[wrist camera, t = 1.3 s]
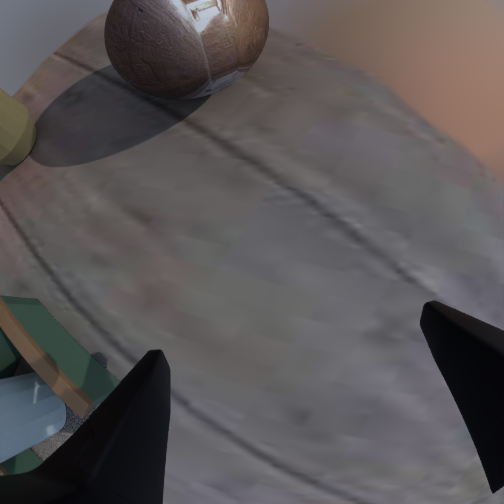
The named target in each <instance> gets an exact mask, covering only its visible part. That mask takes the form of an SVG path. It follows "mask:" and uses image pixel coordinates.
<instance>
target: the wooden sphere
mask: <svg viewBox="0 0 504 504" xmlns="http://www.w3.org/2000/svg"><path fill="white" fill-rule="evenodd" d="M268 29H269V15H268V9H267V5H266V2H265V0H114V1H113V3H112V5H111V7H110V9H109V12H108V15H107V18H106V23H105V31H104V38H105V46H106V51H107V54H108V57H109V59H110V61H111V63H112V65H113V66H114V68H115V70H116V71H117V72H118V73H119V75H120V76H121V77H122V78H123V79H124V80H125V81H127V82H128V83H129V84H130V85H132V86H133V87H135V88H136V89H138V90H140V91H142V92H144V93H147V94H149V95H152V96H156V97H160V98H165V99H178V100H181V99H193V98H198V97H203V96H207V95H210V94H213V93H215V92H218V91H220V90H222V89H224V88H226V87H228V86H229V85H231V84H233V83H234V82H235V81H237V80H238V79H239V78H241V77H242V76H243V75H244V74H245V73H246V72H247V71H248V70H249V69H250V68H251V67H252V66H253V64H254V63H255V62H256V60H257V59H258V57H259V55H260V54H261V52H262V50H263V47H264V45H265V42H266V39H267V35H268Z"/></svg>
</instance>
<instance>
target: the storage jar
mask: <svg viewBox="0 0 504 504" xmlns="http://www.w3.org/2000/svg"><path fill="white" fill-rule="evenodd" d="M65 423H66V407H65V404H64V402H63V401H62V400H61V399H60V398H59V397H58V396H57V395H56V394H55V393H54V392H53V390H52V389H51V388H50V387H49V386H48V385H47V384H46V383H45V382H44V381H43V380H42V379H41V377H40V376H39V375H38V374H37V373H36V372H33V373H28V374H23V375H19V376H14V377H10V378H5V379H0V463H1V462H3V461H5V460H7V459H9V458H11V457H13V456H15V455H17V454H19V453H21V452H23V451H24V450H26V449H28V448H30V447H32V446H34V445H36V444H37V443H39V442H41V441H43V440H45V439H47V438H48V437H50V436H52V435H54V434H56V433H57V432H58V431H60V430H61V429H62V428H63V427H64V425H65Z"/></svg>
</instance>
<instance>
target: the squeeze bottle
mask: <svg viewBox="0 0 504 504" xmlns="http://www.w3.org/2000/svg"><path fill="white" fill-rule="evenodd" d="M36 135H37V134H36V128H35V126H34V123H33V121H32V118H31V116H30V113H29V111H28V109H27V108H26V107H25V106H24V105H22V104H21V103H20V102H18V101H17V100H16V99H14V98H13V97H12V96H10V95H9V94H7V93H6V92H5V91H3V90H2V89H1V88H0V164H1V165H9V166H14V165H17V164H19V163H20V162H21V161H23V160H24V159H25V158H26V156H27V155H28V154H29V152H30V151H31V149H32V147H33V145H34V143H35V139H36Z"/></svg>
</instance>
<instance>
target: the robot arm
mask: <svg viewBox="0 0 504 504" xmlns="http://www.w3.org/2000/svg"><path fill="white" fill-rule="evenodd" d="M420 327H421V329H422V332H423V334H424V336H425V338H426V341H427V343H428V346H429V348H430V350H431V353H432V355H433V358H434V360H435V362H436V364H437V366H438V368H439V370H440V372H441V374H442V375H443V377H444V379H445V381H446V383H447V385H448V387H449V389H450V391H451V393H452V395H453V398H454V400H455V402H456V404H457V406H458V408H459V410H460V412H461V415H462V417H463V419H464V421H465V424H466V426H467V428H468V430H469V433H470V435H471V438H472V440H473V442H474V445H475V447H476V449H477V453H478V455H479V458H480V460H481V463H482V466H483V468H484V471H485V474H486V477H487V480H488V483H489V486H490V489H491V491H492V493H495V492H496V491H498V490H499V489H500V488H502V487H503V486H504V331H503V330H501V329H499V328H497V327H494V326H492V325H490V324H488V323H485V322H483V321H481V320H479V319H476V318H474V317H472V316H470V315H467V314H465V313H463V312H460V311H458V310H456V309H454V308H451V307H449V306H447V305H444V304H442V303H440V302H437V301H430V302H427V303H425V304H424V306H423V310H422V315H421V319H420ZM169 422H170V367H169V364H168V362H167V360H166V358H165V355H164V353H163V351H162V350H160V349H158V350H150V351H148V352H147V353H146V354H145V355H144V357H143V358H142V359H141V360H140V361H139V362H138V363H137V364H136V365H135V366H134V368H133V369H132V370H131V371H130V372H129V373H128V374H127V375H126V376H125V378H124V379H123V380H122V381H121V382H120V383H119V384H118V385H117V386H116V387H115V389H114V390H113V391H112V392H111V393H110V394H109V395H108V396H107V397H106V399H105V400H104V401H103V402H102V403H101V404H100V405H99V406H98V407H97V409H96V410H95V411H94V412H93V413H92V414H91V415H90V416H89V419H87V420H86V421H85V422H84V423H83V424H82V425H81V426H80V427H79V428H78V430H77V431H76V432H75V433H74V434H73V435H72V436H71V437H70V438H69V439H68V440H67V441H66V442H65V443H64V444H62V445H61V446H60V447H59V448H58V449H57V450H56V451H55V452H54V453H53V454H51V455H50V456H49V457H48V458H47V459H46V460H45V461H44V462H43V463H41V464H40V465H39V466H38V467H36V468H35V469H33V470H31V471H28V472H24V473H18V474H10V475H2V476H0V504H163V489H164V475H165V463H166V451H167V441H168V431H169Z"/></svg>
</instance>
